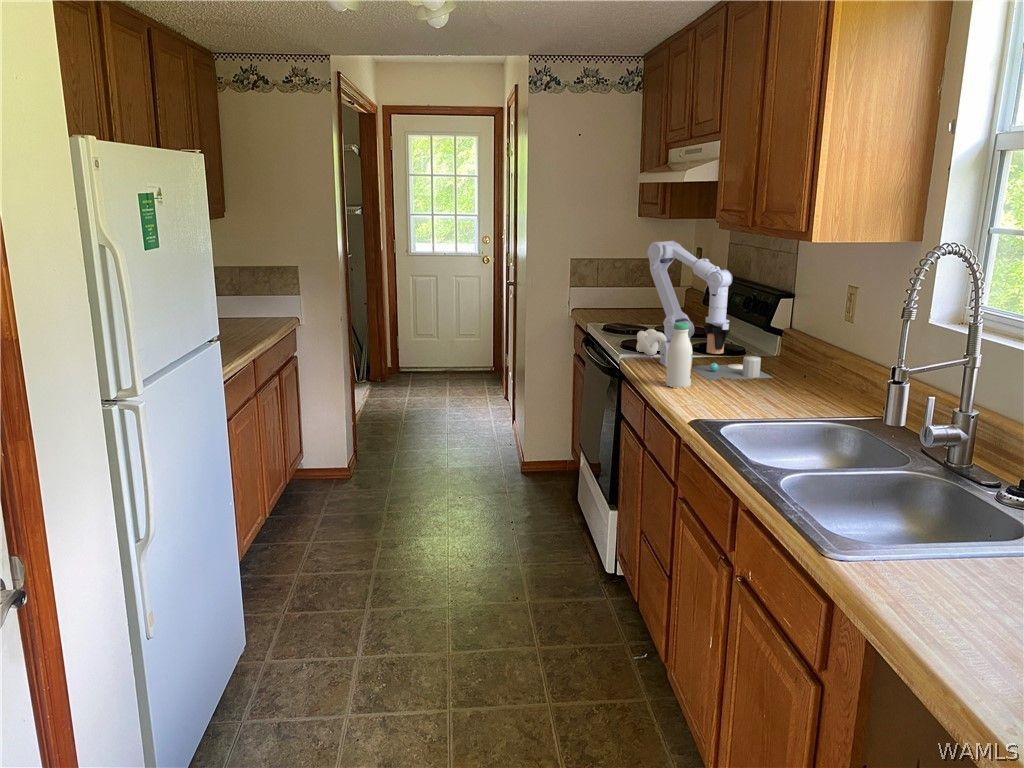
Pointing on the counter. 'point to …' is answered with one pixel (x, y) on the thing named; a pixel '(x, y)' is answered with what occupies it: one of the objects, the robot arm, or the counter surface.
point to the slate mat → (725, 372)
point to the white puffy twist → (650, 341)
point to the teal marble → (714, 367)
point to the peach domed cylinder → (713, 345)
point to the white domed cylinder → (751, 366)
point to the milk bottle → (679, 358)
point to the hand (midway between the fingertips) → (715, 347)
